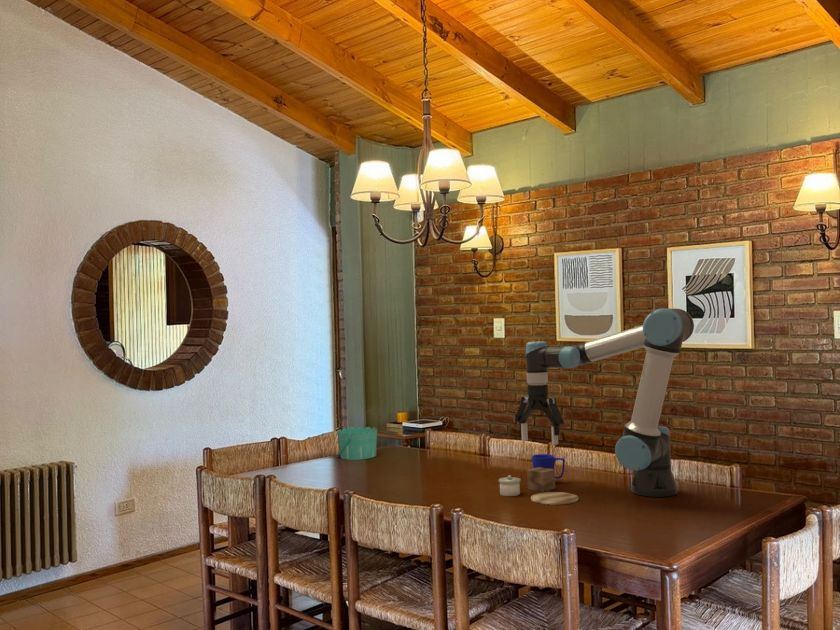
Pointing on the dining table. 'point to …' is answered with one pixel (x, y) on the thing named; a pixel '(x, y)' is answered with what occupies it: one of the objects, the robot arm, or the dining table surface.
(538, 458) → the mug
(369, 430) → the basket
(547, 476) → the block
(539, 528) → the dining table surface
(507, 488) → the sugar bowl
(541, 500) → the trivet
